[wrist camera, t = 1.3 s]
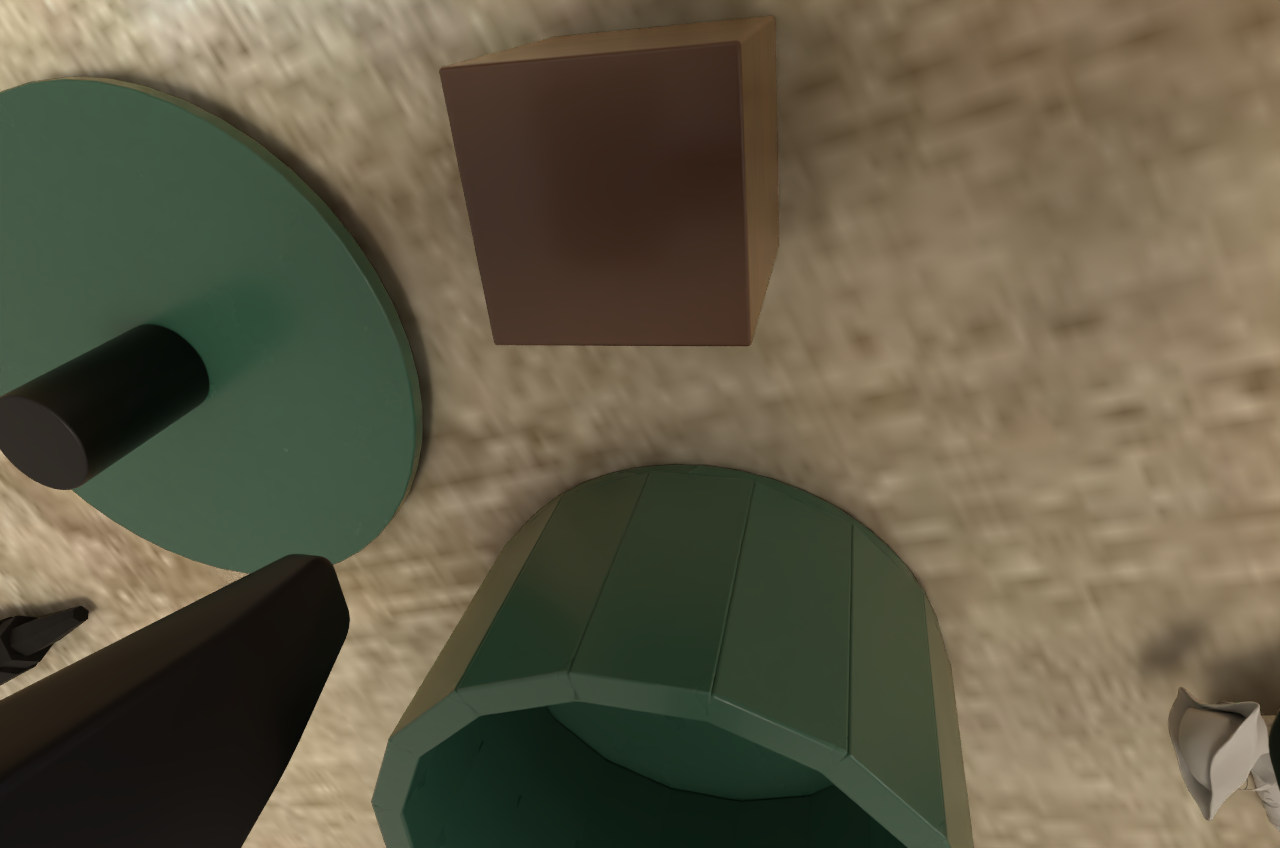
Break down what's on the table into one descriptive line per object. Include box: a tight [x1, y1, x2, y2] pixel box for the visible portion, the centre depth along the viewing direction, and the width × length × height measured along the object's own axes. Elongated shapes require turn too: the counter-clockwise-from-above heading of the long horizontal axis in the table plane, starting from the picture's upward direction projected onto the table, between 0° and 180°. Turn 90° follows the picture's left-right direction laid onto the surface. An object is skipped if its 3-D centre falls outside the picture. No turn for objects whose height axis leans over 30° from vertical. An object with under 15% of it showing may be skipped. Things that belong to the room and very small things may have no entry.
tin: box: [371, 464, 974, 848], centre depth 21 cm, size 14×14×8 cm
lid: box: [0, 76, 422, 574], centre depth 21 cm, size 15×15×5 cm
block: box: [439, 15, 779, 346], centre depth 15 cm, size 5×5×5 cm
